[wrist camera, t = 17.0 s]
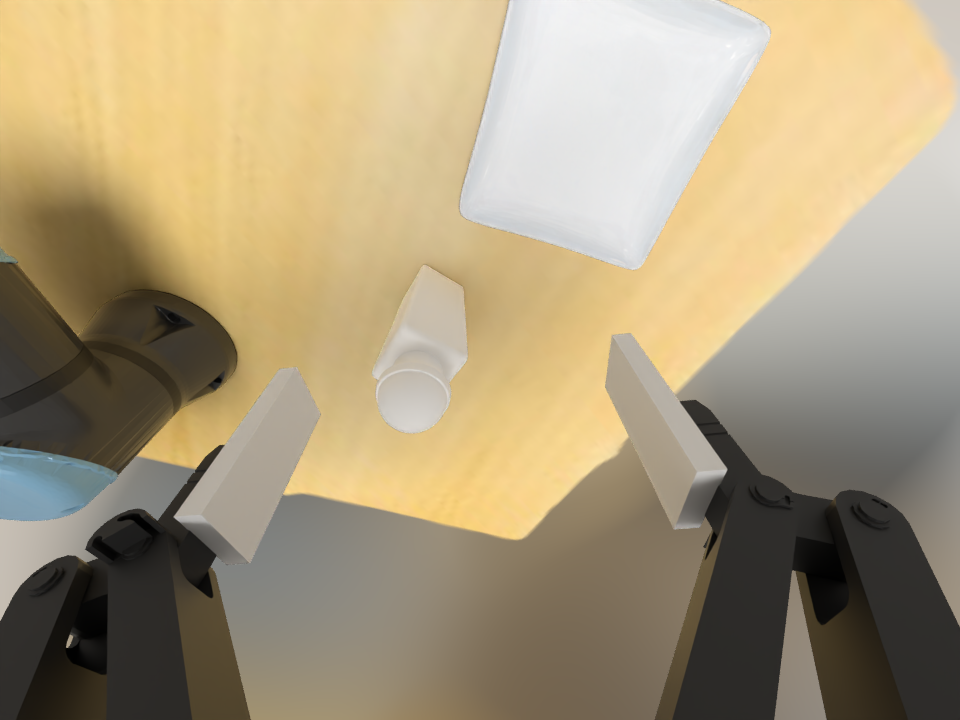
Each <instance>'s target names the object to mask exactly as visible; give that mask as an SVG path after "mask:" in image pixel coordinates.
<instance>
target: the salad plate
mask: <svg viewBox="0 0 960 720" xmlns="http://www.w3.org/2000/svg"><path fill="white" fill-rule="evenodd" d="M770 36H771V30H770V28H769V27H768V26H767V25H766V24H765V23H764V22H763V21H761V20H760V19H758V18H756V17H754V16H752V15H751V14H749V13H747V12H745V11H743V10H741V9H739V8H736V7H734V6H731V5H729V4H727V3H725V2H722V1H720V0H509V3H508V7H507V12H506V16H505V21H504V25H503V30H502V34H501V39H500V43H499V47H498V52H497V56H496V60H495V65H494V69H493V73H492V78H491V82H490V86H489V91H488V95H487V99H486V102H485V106H484V110H483V114H482V118H481V122H480V126H479V130H478V133H477V137H476V140H475V144H474V148H473V151H472V155H471V158H470V162H469V165H468V169H467V172H466V176H465V179H464V183H463V187H462V192H461V196H460V204H459V209H460V214H461V215H462V216H463V217H464V218H465V219H467V220H469V221H472V222H475V223H478V224H481V225H484V226H488V227H491V228H495V229H499V230H502V231H506V232H510V233H514V234H517V235H521V236H525V237H528V238H532V239H536V240H539V241H543V242H546V243H549V244H552V245H556V246H559V247H562V248H565V249H568V250H571V251H574V252H577V253H580V254H583V255H586V256H589V257H592V258H595V259H598V260H601V261H604V262H607V263H610V264H613V265H616V266H619V267H622V268H626V269H630V270H636V269H638V268H640V267H641V266H642V264H643V263H644V261H645V260H646V258H647V256H648V254H649V253H650V251H651V249H652V247H653V246H654V244H655V242H656V240H657V238H658V236H659V235H660V233H661V231H662V229H663V227H664V226H665V224H666V222H667V220H668V218H669V216H670V215H671V213H672V211H673V209H674V207H675V205H676V204H677V202H678V200H679V198H680V196H681V195H682V193H683V191H684V189H685V187H686V186H687V184H688V182H689V180H690V179H691V177H692V175H693V173H694V171H695V170H696V168H697V166H698V164H699V163H700V161H701V159H702V157H703V155H704V154H705V152H706V150H707V148H708V147H709V145H710V143H711V142H712V140H713V138H714V136H715V135H716V133H717V131H718V130H719V128H720V126H721V125H722V123H723V121H724V120H725V118H726V116H727V115H728V113H729V111H730V110H731V108H732V106H733V105H734V103H735V101H736V100H737V98H738V96H739V95H740V93H741V91H742V89H743V88H744V86H745V84H746V83H747V81H748V79H749V78H750V76H751V74H752V72H753V70H754V69H755V67H756V65H757V63H758V61H759V60H760V58H761V56H762V54H763V52H764V50H765V48H766V47H767V44H768V42H769V40H770Z"/></svg>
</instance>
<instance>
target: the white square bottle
mask: <svg viewBox="0 0 960 720" xmlns="http://www.w3.org/2000/svg"><path fill="white" fill-rule="evenodd" d="M467 359H468V349H467V334H466V318H465V303H464V288H463V287H462V286H461V285H459V284H457V283H456V282H454V281H452V280H451V279H449V278H447V277H446V276H444V275H442V274H441V273H439V272H437V271H436V270H434V269H432V268H430V267H429V266H427V265H423V266H422V267H421V269H420V270H419V272H418V274H417V276H416V277H415V279H414V281H413V282H412V284H411V286H410V288H409V289H408V291H407V293H406V294H405V296H404V298H403V300H402V302H401V305H400V307H399V310H398V312H397V314H396V317H395V319H394V321H393V324H392V326H391V328H390V331H389V333H388V335H387V338H386V340H385V342H384V345H383V347H382V349H381V352H380V354H379V356H378V359H377V361H376V363H375V365H374V368H373V370H372V375H373V377H374V378H375V379H377V380H378V381H377V385H376V400H377V404H378V409H379V412H380V414H381V416H382V417H383V419H384V420H385V421H386V423H387V424H388V425H390V426H391V427H392V428H394V429H396V430H398V431H401V432H404V433H419V432H423V431H425V430H428V429H429V428H431V427H432V426H434V425H435V424H436V423H437V422H438V421H439V420H440V419H441V417H442V416H443V414H444V412H445V411H446V410H447V408H448V406H449V402H450V398H451V387H450V384H449V382H450V381H451V380H452V379H453V377H454V376H455V375H456V374H457V372H458V371H459V370H460V369H461V368H462V366H463V365H464V364H465V363H466V361H467Z"/></svg>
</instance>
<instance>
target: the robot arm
mask: <svg viewBox="0 0 960 720" xmlns="http://www.w3.org/2000/svg"><path fill="white" fill-rule="evenodd" d="M16 263H18V261H17V260H16V259H15V258H14V257H12V256H9V255H7V254H6V253H5V252H4V251H3V250H2V248H1V247H0V519H7V520H20V521H41V520H50V519H57V518H61V517H64V516H68V515H70V514H73V513H75V512H77V511H79V510H80V509H81V508H83V507H85V506H86V505H87V504H88V503H89V502H90V501H91V500H93V499H94V498H95V497H96V496H97V495H98V494H99V493H100V492H101V491H102V490H104V489H105V488H106V487H107V486H108V485H109V484H111V483H112V482H114V481H115V480H116V479H117V477H118V475H119V474H120V473H121V471H122V470H123V469H124V468H125V467H126V466H127V465H128V464H129V463H130V462H131V461H132V460H133V459H134V457H135V456H136V455H137V454H138V453H139V452H140V451H141V450H142V449H143V448H144V447H145V446H146V445H147V443H148V442H149V441H150V440H151V439H152V438H153V437H154V436H155V435H156V434H157V433H158V432H159V431H160V430H161V429H162V427H163V426H164V425H165V424H166V423H167V422H168V421H169V420H170V419H171V418H172V417H173V416H174V415H175V414H176V413H177V412H178V411H179V410H180V409H181V408H183V407H185V406H187V405H189V404H191V403H193V402H195V401H197V400H199V399H201V398H203V397H204V396H206V395H208V394H210V393H212V392H214V391H216V390H217V389H218V388H220V387H221V386H222V385H223V384H224V383H225V382H226V381H227V379H228V378H229V377H230V376H231V375H232V373H233V372H234V370H235V367H236V362H237V357H236V351H235V348H234V345H233V343H232V341H231V339H230V337H229V336H228V334H227V333H226V331H225V330H224V329H223V328H222V326H221V325H220V324H219V323H218V322H217V321H216V320H215V319H213V318H212V317H211V316H210V315H209V314H207V313H206V312H205V311H203V310H202V309H200V308H199V307H197V306H195V305H194V304H192V303H190V302H188V301H186V300H184V299H182V298H179V297H177V296H174V295H171V294H167V293H163V292H159V291H152V290H135V291H130V292H126V293H123V294H121V295H119V296H117V297H116V298H114V299H112V300H110V301H108V302H107V303H105V304H104V305H102V306H101V307H100V308H99V309H98V310H97V311H96V313H95V314H94V316H93V317H92V318H91V320H90V321H89V322H88V324H87V325H86V327H85V328H84V329H83V331H82V332H81V334H80V335H79V336H78V337H77V335H76V334H75V333H74V332H73V331H72V329H71V328H70V327H69V326H68V325H67V323H66V322H65V321H64V320H63V319H62V317H61V316H60V315H59V314H58V313H57V312H56V310H55V309H54V308H53V307H52V306H51V304H50V303H49V302H48V301H47V300H46V298H45V297H44V296H43V295H42V294H41V292H40V291H39V290H38V289H37V288H36V286H35V285H34V284H33V283H32V282H31V281H30V279H29V278H28V277H27V276H26V275H25V273H24V272H23V271H22V270H21V269H20V267H19V266H18V265H17V264H16ZM605 388H606V390H607V392H608V394H609V396H610V398H611V400H612V402H613V404H614V406H615V408H616V411H617V413H618V415H619V417H620V419H621V421H622V423H623V425H624V427H625V429H626V431H627V433H628V435H629V437H630V439H631V442H632V444H633V446H634V448H635V450H636V452H637V454H638V456H639V458H640V460H641V462H642V464H643V466H644V468H645V470H646V472H647V474H648V477H649V479H650V481H651V483H652V485H653V487H654V489H655V491H656V493H657V495H658V497H659V499H660V501H661V504H662V506H663V508H664V510H665V512H666V514H667V516H668V518H669V520H670V522H671V524H672V526H673V528H674V529H685V528H696V527H700V526H701V524H702V522H703V520H704V518H705V516H706V518H707V520H708V522H709V523H710V525H711V527H712V532H711V533H710V535H709V537H708V539H707V541H706V543H705V545H704V548H706V550H705V553H704V556H703V560H702V563H701V566H700V570H699V573H698V576H697V580H696V583H695V587H694V590H693V593H692V597H691V600H690V603H689V607H688V610H687V613H686V617H685V620H684V623H683V627H682V630H681V633H680V637H679V640H678V643H677V647H676V650H675V654H674V657H673V660H672V664H671V667H670V670H669V674H668V677H667V680H666V683H665V687H664V690H663V694H662V697H661V700H660V704H659V707H658V711H657V714H656V717H655V720H774V716H775V708H776V700H777V691H778V683H779V675H780V666H781V658H782V648H783V640H784V633H785V624H786V616H787V607H788V599H789V590H790V582H791V573H792V570H794V571H796V575H797V580H798V585H799V590H800V594H801V599H802V604H803V609H804V614H805V618H806V623H807V628H808V632H809V637H810V642H811V647H812V652H813V656H814V661H815V666H816V670H817V675H818V680H819V685H820V690H821V694H822V699H823V704H824V708H825V713H826V718H827V720H960V627H959V625H958V623H957V620H956V618H955V616H954V614H953V612H952V610H951V608H950V606H949V604H948V602H947V600H946V598H945V596H944V594H943V592H942V590H941V588H940V586H939V584H938V581H937V579H936V577H935V575H934V573H933V571H932V569H931V567H930V565H929V563H928V561H927V559H926V557H925V555H924V553H923V551H922V548H921V546H920V544H919V542H918V540H917V538H916V536H915V534H914V532H913V530H912V528H911V526H910V524H909V523H908V521H907V520H906V519H905V517H904V516H903V514H902V513H900V512H899V511H898V510H897V509H896V508H895V507H893V506H892V505H891V504H889V503H887V502H886V501H884V500H882V499H880V498H878V497H877V496H874V495H871V494H868V493H865V492H862V491H855V490H847V491H842V492H840V493H839V494H838V495H837V496H836V497H835V499H834V500H828V499H823V498H817V497H812V496H806V495H801V494H797V493H793V492H792V491H791V490H790V489H789V488H787V487H786V486H785V485H784V484H783V483H781V482H779V481H777V480H775V479H773V478H771V477H769V476H765V475H762V474H761V473H760V472H759V471H758V470H757V469H756V467H755V466H754V465H753V464H752V462H751V461H750V460H749V459H748V457H747V456H746V455H745V453H744V452H743V451H742V450H741V448H740V447H739V446H738V445H737V443H736V442H735V441H734V440H733V438H732V437H731V436H730V435H728V433H727V431H726V429H725V428H724V427H723V426H722V425H721V424H720V422H719V421H718V419H717V418H716V417H715V416H714V414H713V413H712V412H711V410H709V409H708V408H707V407H705V406H704V405H702V404H701V403H699V402H698V401H696V400H690V401H679V400H678V399H677V397H676V396H675V395H674V393H673V392H672V390H671V389H670V387H669V386H668V385H667V383H666V382H665V380H664V379H663V378H662V376H661V375H660V373H659V372H658V371H657V369H656V368H655V366H654V365H653V364H652V362H651V361H650V359H649V358H648V356H647V355H646V354H645V352H644V351H643V349H642V348H641V347H640V345H639V344H638V342H637V341H636V340H635V338H634V337H633V335H632V334H631V333H628V334H618V335H612V338H611V346H610V353H609V361H608V368H607V376H606V384H605ZM320 415H321V414H320V412H319V410H318V408H317V406H316V404H315V402H314V400H313V398H312V396H311V394H310V392H309V390H308V388H307V386H306V384H305V382H304V380H303V378H302V376H301V374H300V372H299V370H298V368H297V367H293V368H283V369H279V370H278V371H277V373H276V374H275V376H274V377H273V378H272V380H271V381H270V383H269V384H268V385H267V387H266V388H265V390H264V391H263V392H262V394H261V395H260V397H259V398H258V399H257V401H256V402H255V404H254V405H253V406H252V408H251V409H250V411H249V412H248V413H247V415H246V416H245V418H244V419H243V420H242V422H241V423H240V425H239V426H238V427H237V429H236V430H235V432H234V433H233V434H232V436H231V437H230V439H229V440H228V441H227V443H226V444H225V445H219V446H218V447H217V448H215V449H214V450H213V451H212V452H211V453H210V454H208V455H207V456H206V457H205V458H204V459H203V461H202V462H201V463H200V465H199V466H198V467H197V469H196V470H195V473H193V474H192V475H191V477H190V478H189V479H188V481H187V484H185V485H184V486H183V488H182V489H181V490H180V492H179V493H178V494H177V496H176V497H175V498H174V500H173V501H172V502H171V504H170V505H169V506H168V508H167V509H166V511H165V512H164V513H163V514H162V516H161V517H160V518H159V520H158V521H157V520H156V519H154V518H153V517H152V516H151V515H150V514H149V513H147V512H146V511H145V510H142V509H133V510H128V511H126V512H124V513H121V514H119V515H117V516H115V517H114V518H112V519H111V520H109V521H107V522H106V523H105V524H104V525H103V526H101V527H100V528H99V529H98V530H97V531H96V532H95V533H94V534H93V536H92V537H91V538H90V539H89V541H88V543H87V546H86V549H85V550H87V551H88V552H90V553H91V554H93V555H94V556H96V557H97V558H98V559H95V560H92V561H90V562H87V563H86V562H84V561H83V560H81V559H79V558H78V557H76V556H69V555H67V556H64V557H61V558H57V559H56V560H54V561H52V562H50V563H48V564H46V565H44V566H43V567H41V568H40V569H39V570H37V571H36V572H34V573H33V574H32V575H31V576H30V577H29V578H28V579H27V580H26V581H25V582H24V583H23V584H22V585H21V586H20V587H19V589H18V590H17V592H16V593H15V595H14V596H13V598H12V600H11V602H10V604H9V606H8V608H7V609H6V611H5V613H4V615H3V617H2V619H1V621H0V720H251V719H250V715H249V711H248V707H247V702H246V698H245V694H244V690H243V686H242V682H241V677H240V673H239V669H238V665H237V661H236V657H235V653H234V649H233V645H232V640H231V636H230V632H229V628H228V623H227V619H226V615H225V611H224V607H223V603H222V599H221V594H220V590H219V586H218V582H217V578H216V574H215V572H214V570H213V569H212V568H211V567H210V566H211V565H212V563H213V561H214V559H215V557H216V556H217V557H218V558H219V559H220V560H221V561H222V562H223V563H225V564H226V565H235V564H247V563H250V562H251V560H252V558H253V556H254V553H255V551H256V549H257V547H258V545H259V543H260V541H261V539H262V537H263V535H264V533H265V530H266V528H267V526H268V524H269V522H270V520H271V518H272V516H273V513H274V512H275V509H276V507H277V505H278V503H279V501H280V499H281V497H282V495H283V493H284V491H285V488H286V486H287V484H288V482H289V480H290V478H291V476H292V474H293V472H294V470H295V467H296V465H297V463H298V461H299V459H300V457H301V455H302V453H303V451H304V449H305V446H306V444H307V442H308V440H309V438H310V436H311V434H312V432H313V430H314V428H315V425H316V423H317V421H318V419H319V417H320ZM69 635H73V636H74V637H73V640H72V642H71V644H70V646H69V648H66V644H67V640H68V638H69Z"/></svg>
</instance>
